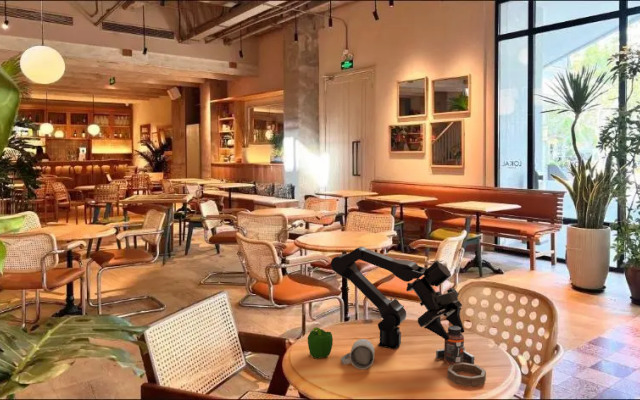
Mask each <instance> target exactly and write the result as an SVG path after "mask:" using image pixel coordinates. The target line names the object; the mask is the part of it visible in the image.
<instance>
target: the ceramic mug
mask: <svg viewBox="0 0 640 400" xmlns="http://www.w3.org/2000/svg"><path fill="white" fill-rule="evenodd" d="M340 361H341V364H342V365H349V364H352V366H353V367H354V368H356V369H357V370H367V369H369V368H370V367H371V366H372V365H373V364H374V361H375V347H374V345H373V343H372V342H371V341H370V340H368V339H365V338H361V339H357V340H356V341H355V342H354V343H353V345H352V346H351V349H350V352H349V353H346V354H344V355H342V357H341V358H340Z"/></svg>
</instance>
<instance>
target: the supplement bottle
mask: <svg viewBox="0 0 640 400" xmlns="http://www.w3.org/2000/svg"><path fill="white" fill-rule="evenodd" d="M446 333H447V334H448V336H449V340H445V339H444V345H443V347H444V348H443V349H444V358H443V361H444V362H445V363H447V364H448V365H450V364H456V363H462V362H463V363H464V359H463V349H464V343H465V338H464V335H463V333H461V328H460V327H458V326H453V325H449V326H448V327H447V331H446Z"/></svg>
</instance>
